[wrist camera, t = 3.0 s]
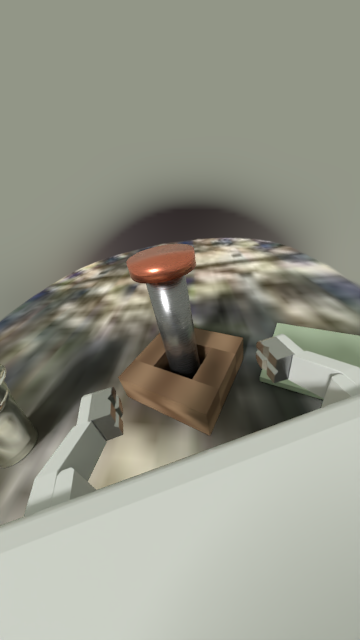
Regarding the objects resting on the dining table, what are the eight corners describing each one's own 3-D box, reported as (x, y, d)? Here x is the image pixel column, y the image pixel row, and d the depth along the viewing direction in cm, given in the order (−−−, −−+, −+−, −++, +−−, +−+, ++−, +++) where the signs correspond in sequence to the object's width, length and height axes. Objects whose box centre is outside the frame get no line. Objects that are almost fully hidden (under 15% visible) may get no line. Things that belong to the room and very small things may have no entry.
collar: (243, 359, 30) (243, 337, 28) (210, 435, 22) (206, 414, 20) (173, 341, 36) (169, 322, 34) (128, 396, 28) (118, 377, 26)
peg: (217, 367, 30) (205, 243, 20) (198, 404, 25) (170, 269, 16) (179, 356, 33) (153, 244, 23) (156, 387, 29) (112, 266, 19)
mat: (371, 342, 29) (373, 338, 28) (385, 418, 21) (388, 413, 20) (276, 326, 35) (277, 322, 34) (259, 381, 27) (259, 376, 26)
